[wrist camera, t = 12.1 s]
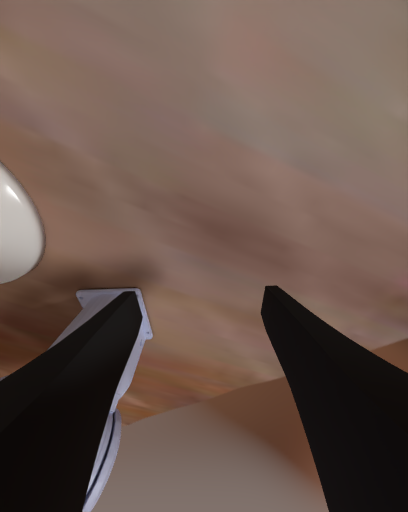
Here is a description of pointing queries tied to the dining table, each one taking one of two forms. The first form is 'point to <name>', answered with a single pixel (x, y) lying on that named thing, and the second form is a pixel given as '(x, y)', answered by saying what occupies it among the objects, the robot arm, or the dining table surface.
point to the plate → (18, 229)
